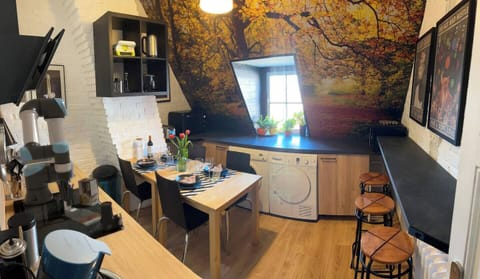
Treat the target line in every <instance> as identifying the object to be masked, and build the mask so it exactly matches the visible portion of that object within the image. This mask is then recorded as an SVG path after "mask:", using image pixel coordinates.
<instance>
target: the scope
mask: <svg viewBox="0 0 480 279" xmlns="http://www.w3.org/2000/svg"><path fill="white" fill-rule="evenodd" d="M112 202H113V201H110V200H109V201H108V200H107V201H102V202H100V204H99V205H100V206H99V207H100V215H101V217H100V218H99V219H100V220H99V219H98V220H99V221H98V223H99V224H101V225H103V231H106V232H108V231H111V230H113V229H116V228H121V227H122V226H123V227H124V221H123V217H122V213H121V212H120V213H119V214H118V213H116V214H114V213H113V212H114V210H113V203H112Z"/></svg>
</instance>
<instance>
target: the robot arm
mask: <svg viewBox="0 0 480 279" xmlns="http://www.w3.org/2000/svg"><path fill="white" fill-rule="evenodd" d="M18 112H19V113H18V116H19V119H20V121H21V125H22V127H21V128H22V137H23V138H22V139H23V146H22V147H20V148H19V153H20V154H19V156H20V160H21V161H23V162H31V161H38V160H47V159H51V160H49V164H47V165H46V163H44V162H43V163H35V164H31V165H29V166H27V167H26V168H24V169H23V177H24V183H25V189H26V191H25V196H24V205H26V206H39V205H42V204H46V203H49V202H50V201H52V200H54V196H53V195H54V194H53V193H52V191H51V190H50V188H49V184H53V183H56V185H57V188H58V191H59V192H58V193H59V196H60V199H62V200H63V205H64V211H65V210H68V209H70V208H72V204H71V200H73V199H74V198H73V197H74V183H71V182H72V181H71V180H72V179H73V178H74V162H72V161H71V157H70V146H69V143H68V142H67V141H65V140H66V139H65V138H66V137H65V130H64V122H63V121H64V120H65V118H66V117H67V115H68V112H67V107H66V104H65V102H64V100H63V98H56V97H53V98H46V97H45V98H31V99H29V100H27V101H26V102H24V104H23V105H22V106H21V107H20V108H19V111H18ZM39 118H43V121H45V122H46V125H47V131H48V140H49V144H46V145H45V144H44V145H41V140H40V139H41V138H40V132H39V125H38V119H39Z"/></svg>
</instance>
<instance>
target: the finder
mask: <svg viewBox="0 0 480 279" xmlns="http://www.w3.org/2000/svg"><path fill="white" fill-rule="evenodd" d="M80 209H81V208H76V207H71V208H70V209H68V210H65V209H64V214H65V215H64V216H67V217H66V218H68V217H69V218H70V219H71V218H72V219H74V218H73V217H75V216H79V215H80V214H81V213H80Z"/></svg>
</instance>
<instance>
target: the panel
mask: <svg viewBox="0 0 480 279" xmlns="http://www.w3.org/2000/svg"><path fill="white" fill-rule="evenodd" d="M79 209H80V215H78V216H75V217H73V218H70V217H67V216H65V213H63V214H61V217H65V218H67V219H70V220H72V221H76V222H78V223H80V224H83V225H84V227H88V226H90V225H92V224H95V223H97V222H100V221H99V220H100V219H101V213H98V212H94V211H91V210H89V209H85V208H82V207H81V208H79Z"/></svg>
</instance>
